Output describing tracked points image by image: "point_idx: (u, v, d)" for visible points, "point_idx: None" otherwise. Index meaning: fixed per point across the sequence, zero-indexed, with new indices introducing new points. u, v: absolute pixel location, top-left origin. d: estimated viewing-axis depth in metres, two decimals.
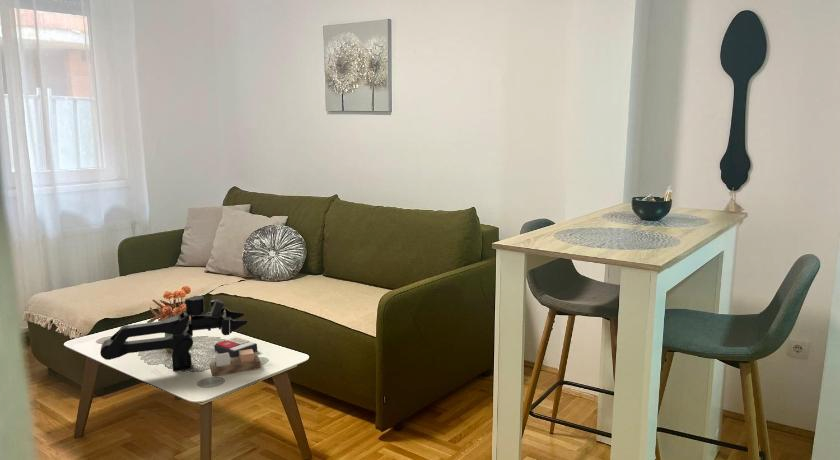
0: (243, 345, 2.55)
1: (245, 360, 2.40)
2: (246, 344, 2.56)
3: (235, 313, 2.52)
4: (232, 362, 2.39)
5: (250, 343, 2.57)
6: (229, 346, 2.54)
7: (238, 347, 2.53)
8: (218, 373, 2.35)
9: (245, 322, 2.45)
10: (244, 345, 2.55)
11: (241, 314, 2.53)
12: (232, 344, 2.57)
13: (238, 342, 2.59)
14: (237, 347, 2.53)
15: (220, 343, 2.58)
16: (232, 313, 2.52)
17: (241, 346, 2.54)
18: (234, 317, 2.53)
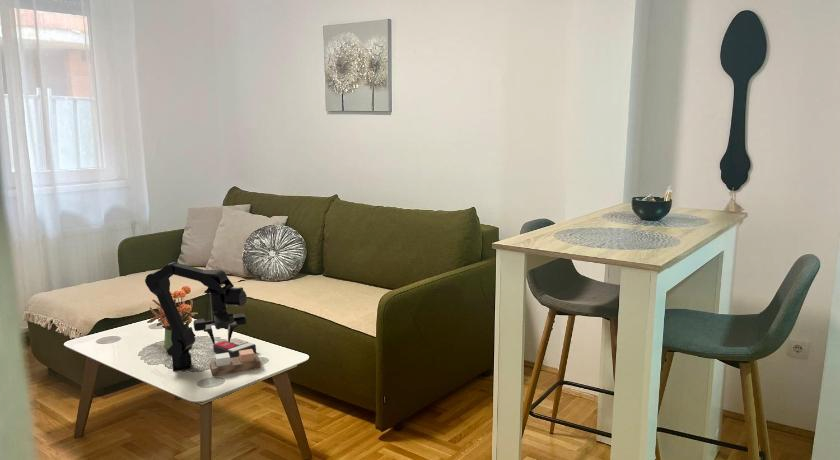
0: (242, 346, 2.54)
1: (245, 360, 2.40)
2: (245, 345, 2.55)
3: (228, 334, 2.37)
4: (232, 362, 2.39)
5: (249, 344, 2.56)
6: (228, 347, 2.53)
7: (236, 348, 2.52)
8: (218, 373, 2.35)
9: None
10: (243, 346, 2.54)
11: (228, 340, 2.38)
12: (231, 344, 2.56)
13: (237, 343, 2.58)
14: (235, 348, 2.52)
15: (219, 344, 2.58)
16: (228, 331, 2.37)
17: (240, 347, 2.53)
18: (228, 331, 2.39)
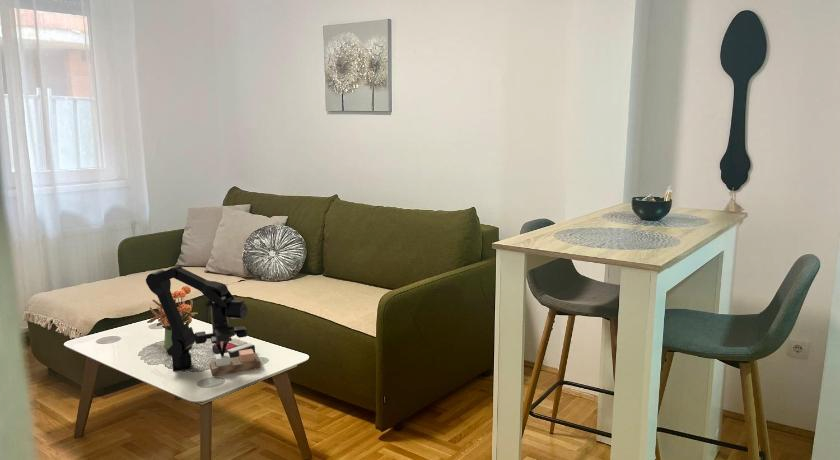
0: (241, 346, 2.54)
1: (245, 360, 2.40)
2: (244, 345, 2.55)
3: (222, 348, 2.37)
4: (232, 362, 2.39)
5: (248, 344, 2.56)
6: (226, 347, 2.53)
7: (235, 348, 2.51)
8: (218, 373, 2.35)
9: None
10: (242, 346, 2.54)
11: None
12: (230, 345, 2.55)
13: (236, 343, 2.57)
14: (234, 348, 2.52)
15: None
16: (222, 345, 2.37)
17: (238, 347, 2.53)
18: (222, 345, 2.38)
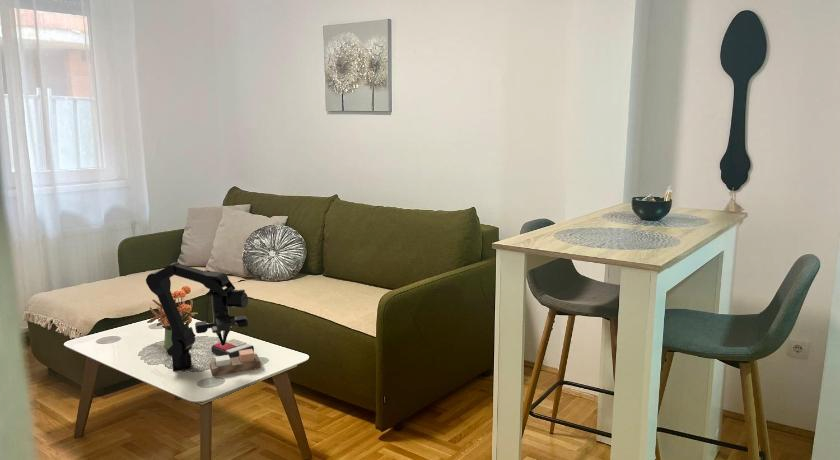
0: (239, 347, 2.53)
1: (245, 360, 2.40)
2: (242, 346, 2.54)
3: (223, 337, 2.36)
4: (232, 362, 2.39)
5: (247, 345, 2.55)
6: (225, 348, 2.52)
7: (234, 349, 2.51)
8: (218, 373, 2.35)
9: None
10: (240, 347, 2.53)
11: None
12: (228, 346, 2.55)
13: (235, 344, 2.57)
14: (233, 349, 2.51)
15: (217, 345, 2.57)
16: (223, 335, 2.36)
17: (237, 348, 2.52)
18: (223, 335, 2.38)
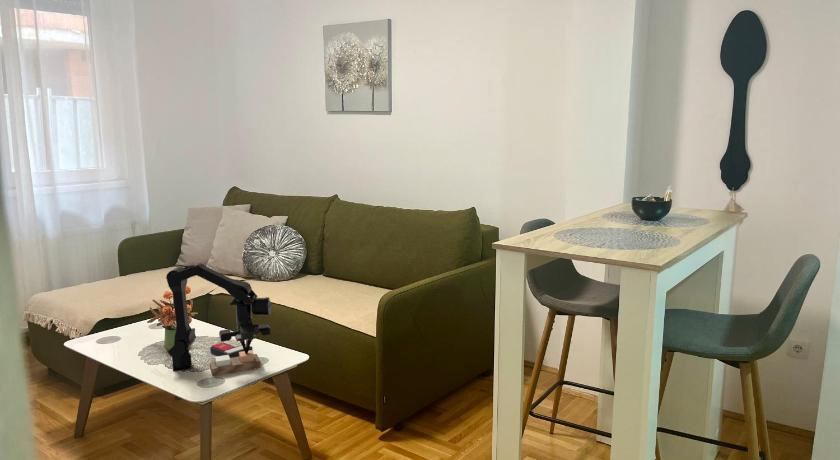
0: (238, 348, 2.52)
1: None
2: (241, 347, 2.53)
3: (246, 345, 2.41)
4: (232, 362, 2.39)
5: None
6: (224, 349, 2.51)
7: (233, 350, 2.50)
8: (218, 373, 2.35)
9: (244, 351, 2.42)
10: (239, 348, 2.52)
11: None
12: (227, 346, 2.54)
13: (234, 345, 2.56)
14: (232, 350, 2.50)
15: (216, 345, 2.56)
16: (247, 343, 2.41)
17: (236, 349, 2.51)
18: (246, 343, 2.42)
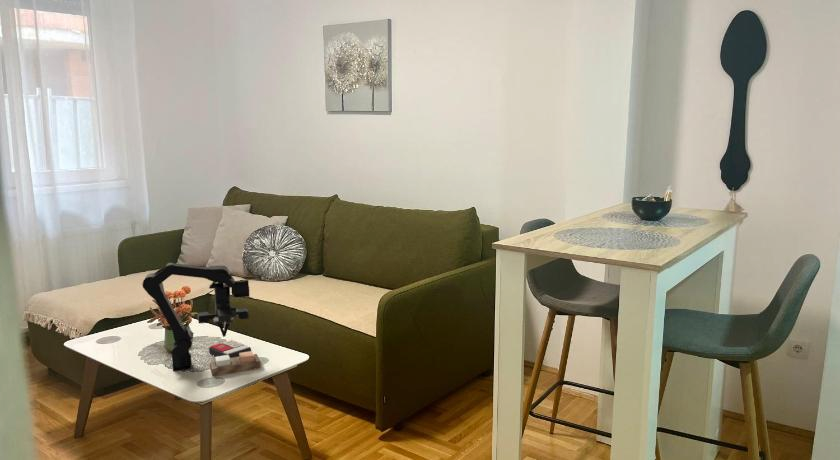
0: (236, 349, 2.51)
1: None
2: (240, 348, 2.52)
3: (224, 328, 2.44)
4: (232, 362, 2.39)
5: (244, 347, 2.53)
6: (222, 349, 2.51)
7: (231, 351, 2.49)
8: (218, 373, 2.35)
9: (222, 334, 2.45)
10: (237, 349, 2.51)
11: None
12: (226, 347, 2.53)
13: (232, 345, 2.55)
14: (230, 350, 2.49)
15: (214, 346, 2.55)
16: (224, 326, 2.44)
17: (234, 350, 2.50)
18: (224, 326, 2.45)
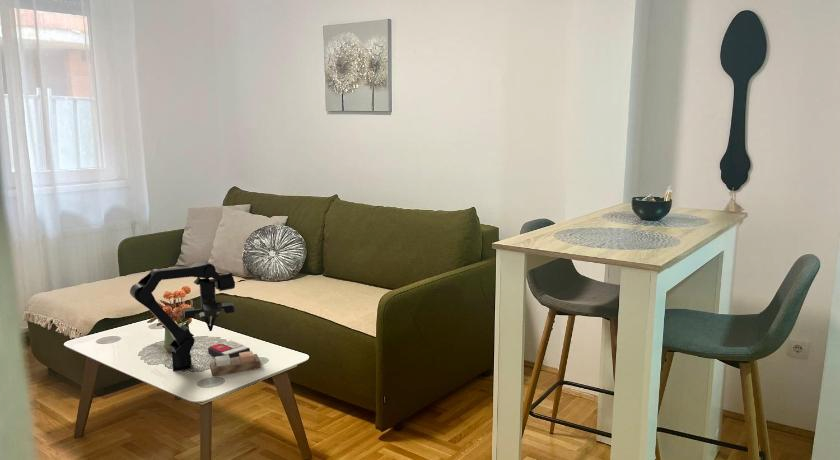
0: (235, 349, 2.51)
1: None
2: (239, 348, 2.52)
3: (211, 323, 2.47)
4: (232, 362, 2.39)
5: (243, 347, 2.53)
6: (221, 350, 2.50)
7: (230, 351, 2.49)
8: (218, 373, 2.35)
9: None
10: (236, 349, 2.51)
11: None
12: (225, 347, 2.53)
13: (231, 346, 2.55)
14: (229, 351, 2.49)
15: (214, 346, 2.55)
16: (211, 320, 2.47)
17: (233, 350, 2.50)
18: (210, 320, 2.48)
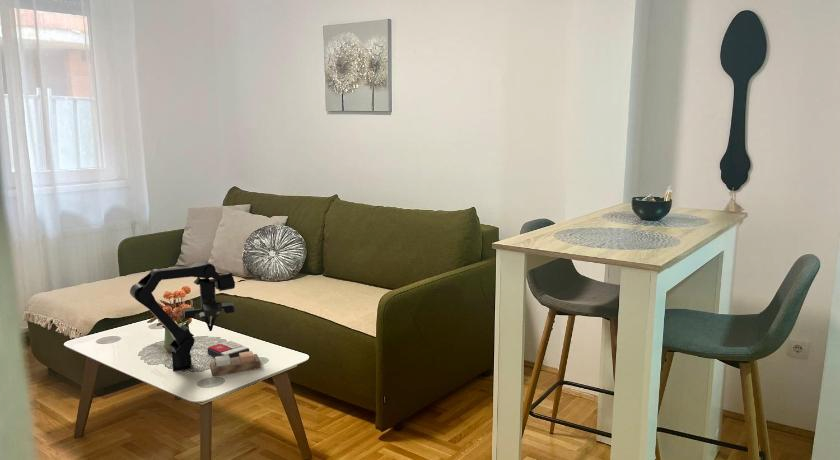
0: (235, 349, 2.50)
1: None
2: (238, 348, 2.51)
3: (211, 323, 2.47)
4: (232, 362, 2.39)
5: (242, 348, 2.52)
6: (221, 350, 2.50)
7: (229, 351, 2.48)
8: (218, 373, 2.35)
9: None
10: (236, 349, 2.50)
11: None
12: (224, 348, 2.53)
13: (231, 346, 2.54)
14: (228, 351, 2.48)
15: (213, 347, 2.55)
16: (211, 320, 2.47)
17: (232, 350, 2.49)
18: (210, 320, 2.48)
